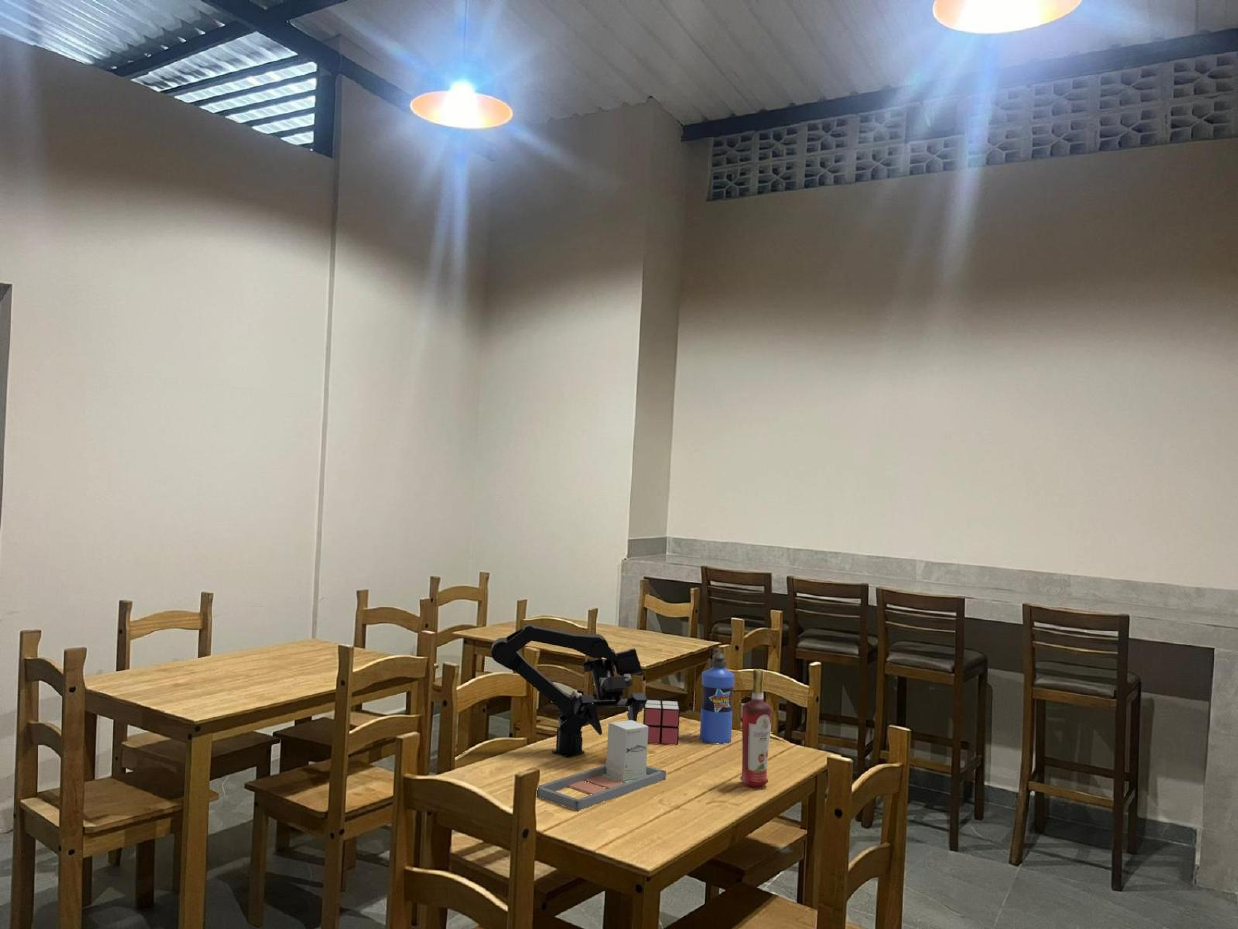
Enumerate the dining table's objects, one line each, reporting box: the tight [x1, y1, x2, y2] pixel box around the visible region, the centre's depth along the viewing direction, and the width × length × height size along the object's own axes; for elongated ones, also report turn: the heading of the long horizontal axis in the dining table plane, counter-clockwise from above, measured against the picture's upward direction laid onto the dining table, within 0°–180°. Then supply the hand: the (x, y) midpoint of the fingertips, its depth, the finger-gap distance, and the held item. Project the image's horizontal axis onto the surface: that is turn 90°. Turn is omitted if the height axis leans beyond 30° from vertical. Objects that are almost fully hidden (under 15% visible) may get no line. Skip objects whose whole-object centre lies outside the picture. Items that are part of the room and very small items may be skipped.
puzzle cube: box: [642, 699, 681, 746], centre depth 257 cm, size 10×10×10 cm
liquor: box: [739, 668, 773, 789], centre depth 220 cm, size 7×7×28 cm
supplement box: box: [605, 719, 649, 781], centre depth 221 cm, size 7×7×13 cm
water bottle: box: [699, 651, 735, 745], centre depth 260 cm, size 9×9×25 cm
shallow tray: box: [536, 764, 667, 811], centre depth 213 cm, size 13×32×2 cm, turn 140°
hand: (617, 733), depth 228 cm, fingers open, 9 cm apart
